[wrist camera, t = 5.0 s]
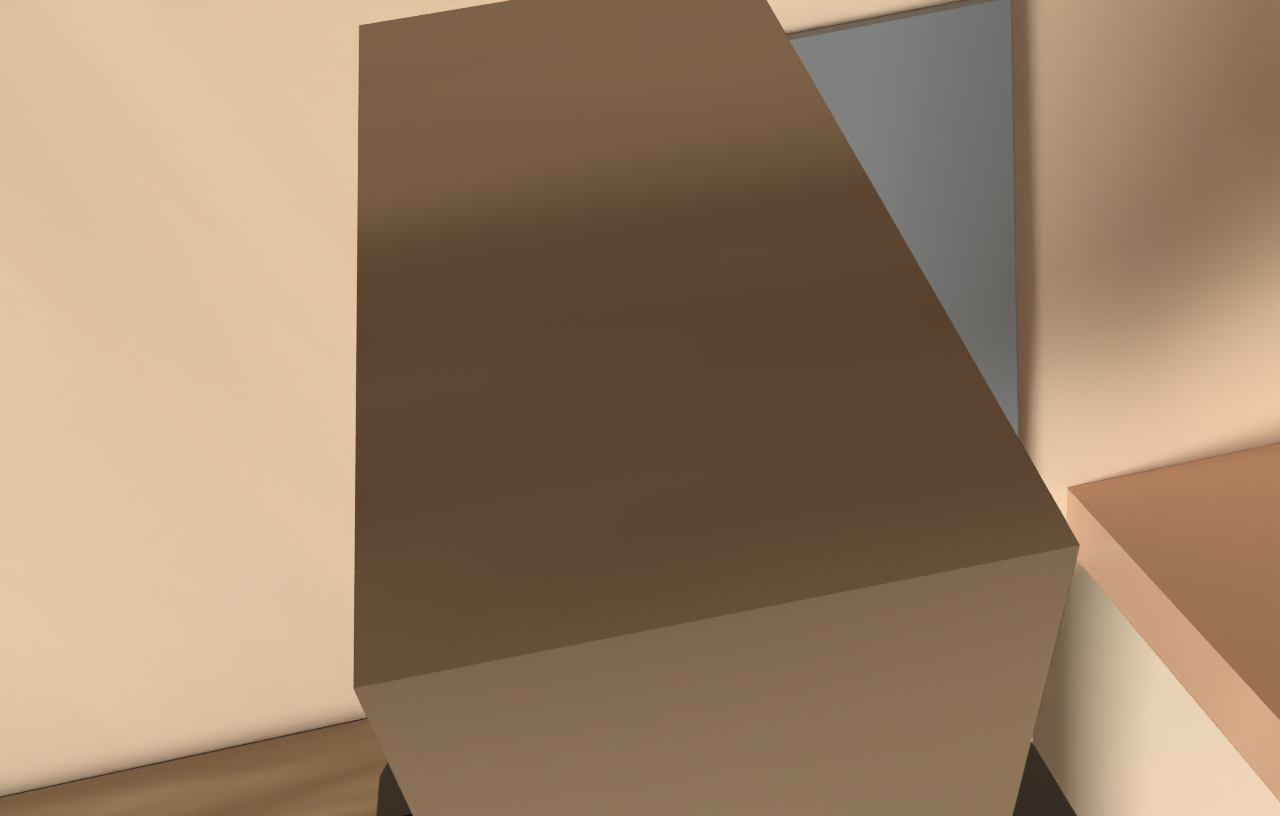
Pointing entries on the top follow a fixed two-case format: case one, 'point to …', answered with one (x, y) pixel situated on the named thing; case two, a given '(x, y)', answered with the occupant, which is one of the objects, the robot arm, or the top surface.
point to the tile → (1199, 582)
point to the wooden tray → (233, 781)
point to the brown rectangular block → (670, 441)
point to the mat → (938, 155)
